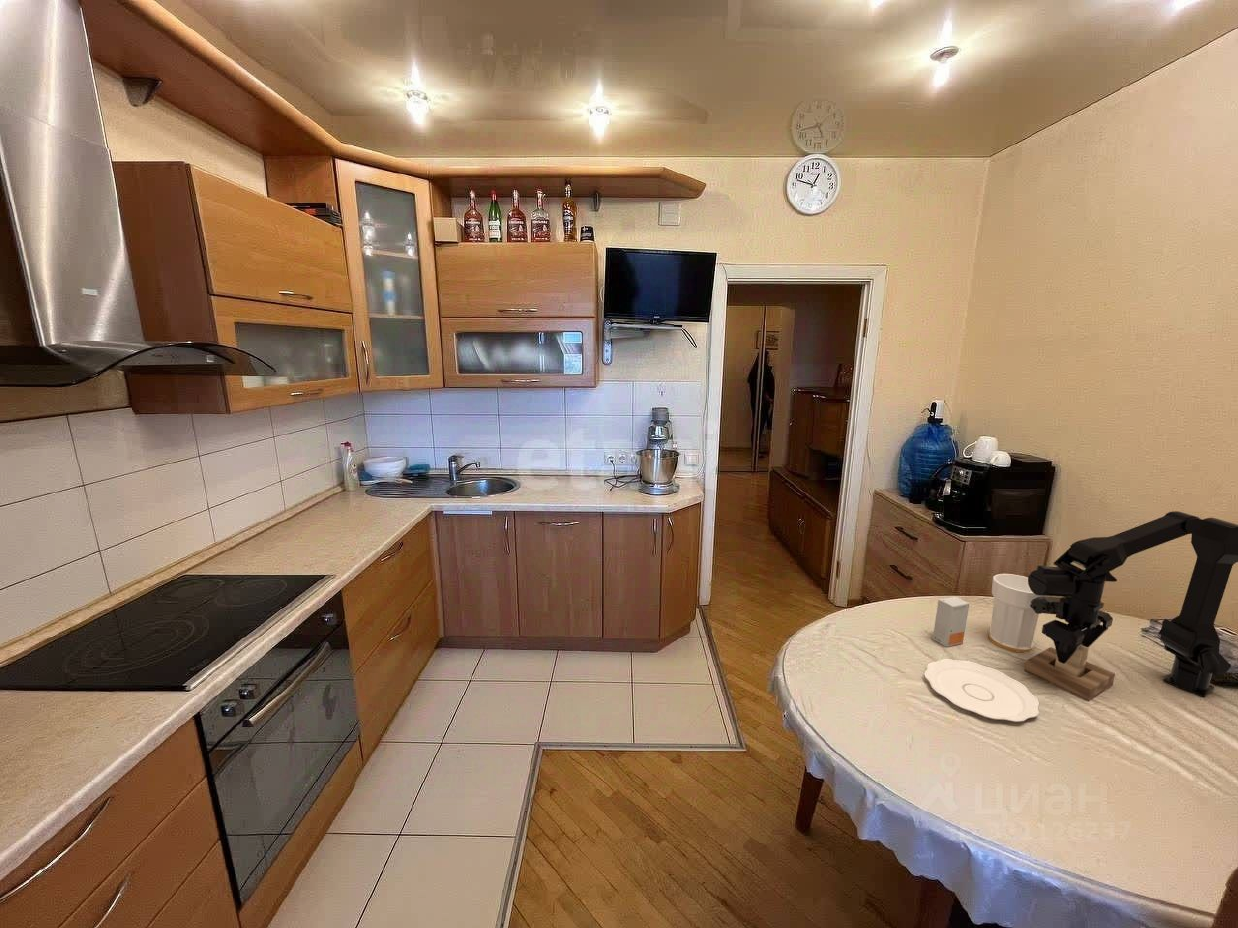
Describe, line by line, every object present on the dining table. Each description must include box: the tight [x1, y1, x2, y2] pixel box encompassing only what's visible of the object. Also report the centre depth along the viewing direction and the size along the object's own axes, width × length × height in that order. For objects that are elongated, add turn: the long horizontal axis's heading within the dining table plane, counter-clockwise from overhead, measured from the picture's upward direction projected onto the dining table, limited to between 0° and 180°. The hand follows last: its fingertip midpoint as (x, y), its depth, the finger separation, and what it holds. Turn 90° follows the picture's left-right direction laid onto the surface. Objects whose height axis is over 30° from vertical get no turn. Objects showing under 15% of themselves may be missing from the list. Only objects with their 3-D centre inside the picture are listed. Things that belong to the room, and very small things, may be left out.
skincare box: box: [932, 596, 970, 648], centre depth 128 cm, size 6×4×12 cm
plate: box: [923, 658, 1040, 723], centre depth 109 cm, size 21×21×2 cm
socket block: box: [1024, 646, 1116, 702], centre depth 113 cm, size 12×12×3 cm
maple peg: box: [1055, 645, 1090, 678], centre depth 113 cm, size 4×4×8 cm
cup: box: [988, 573, 1049, 653], centre depth 126 cm, size 11×11×17 cm
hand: (1071, 656), depth 112 cm, fingers open, 9 cm apart
